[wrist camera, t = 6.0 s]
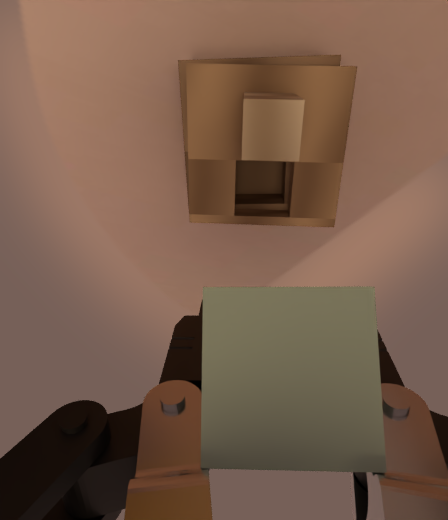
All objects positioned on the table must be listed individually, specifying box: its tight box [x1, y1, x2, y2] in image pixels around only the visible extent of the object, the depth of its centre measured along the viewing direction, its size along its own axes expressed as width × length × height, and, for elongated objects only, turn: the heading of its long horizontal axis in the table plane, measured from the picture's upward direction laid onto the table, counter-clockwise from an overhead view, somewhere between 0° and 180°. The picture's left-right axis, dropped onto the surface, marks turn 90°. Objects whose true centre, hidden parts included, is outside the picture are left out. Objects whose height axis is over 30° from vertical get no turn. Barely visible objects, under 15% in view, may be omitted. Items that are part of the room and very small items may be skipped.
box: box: [178, 55, 341, 210], centre depth 30 cm, size 10×10×6 cm
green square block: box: [201, 287, 387, 473], centre depth 12 cm, size 3×3×10 cm
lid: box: [186, 63, 357, 227], centre depth 24 cm, size 10×10×6 cm
